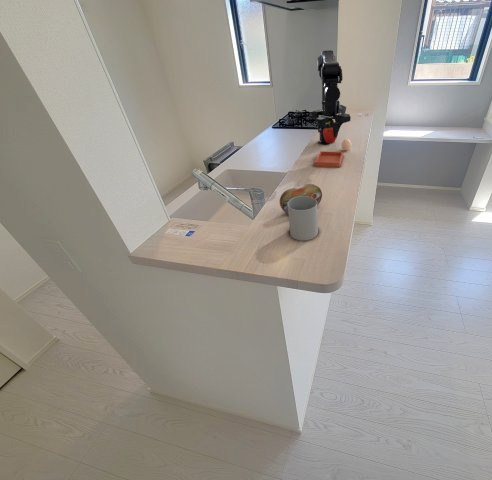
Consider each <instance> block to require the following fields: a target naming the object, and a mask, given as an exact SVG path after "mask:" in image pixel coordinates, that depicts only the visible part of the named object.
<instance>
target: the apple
mask: <svg viewBox="0 0 492 480" xmlns="http://www.w3.org/2000/svg"><path fill="white" fill-rule="evenodd" d="M325 124H329V128H325V129H324V130H323V136H324V139H325V141H326V142H327V143H329V144H331V145H332V144H334V143H335V142H336V140H337V138H338V136H339V134H338V135H337V137H336V138H334V134H333V128H330V121H329V122H328V123H325Z"/></svg>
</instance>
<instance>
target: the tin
mask: <svg viewBox="0 0 492 480" xmlns="http://www.w3.org/2000/svg"><path fill="white" fill-rule="evenodd" d="M300 196H308V197H312V198H314V199H315V200H316V201H317V206H319V204H320V203H321V201H322V197H323V192H322V189H321V188H320V187H319V186H318V185H316V184H313V183H306V184H303V185H300V186H299V185H298V186H296V187H293V188H288V189H286V190H285V191H283V192H282V194H281V195H280V196H279V197H280V198H279V207H280V208H281V210H282V211H283V212H284V214H286V215H289V214H288V204H287V203H288V202H289V200H291V199H293V198H295V197H300Z"/></svg>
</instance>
